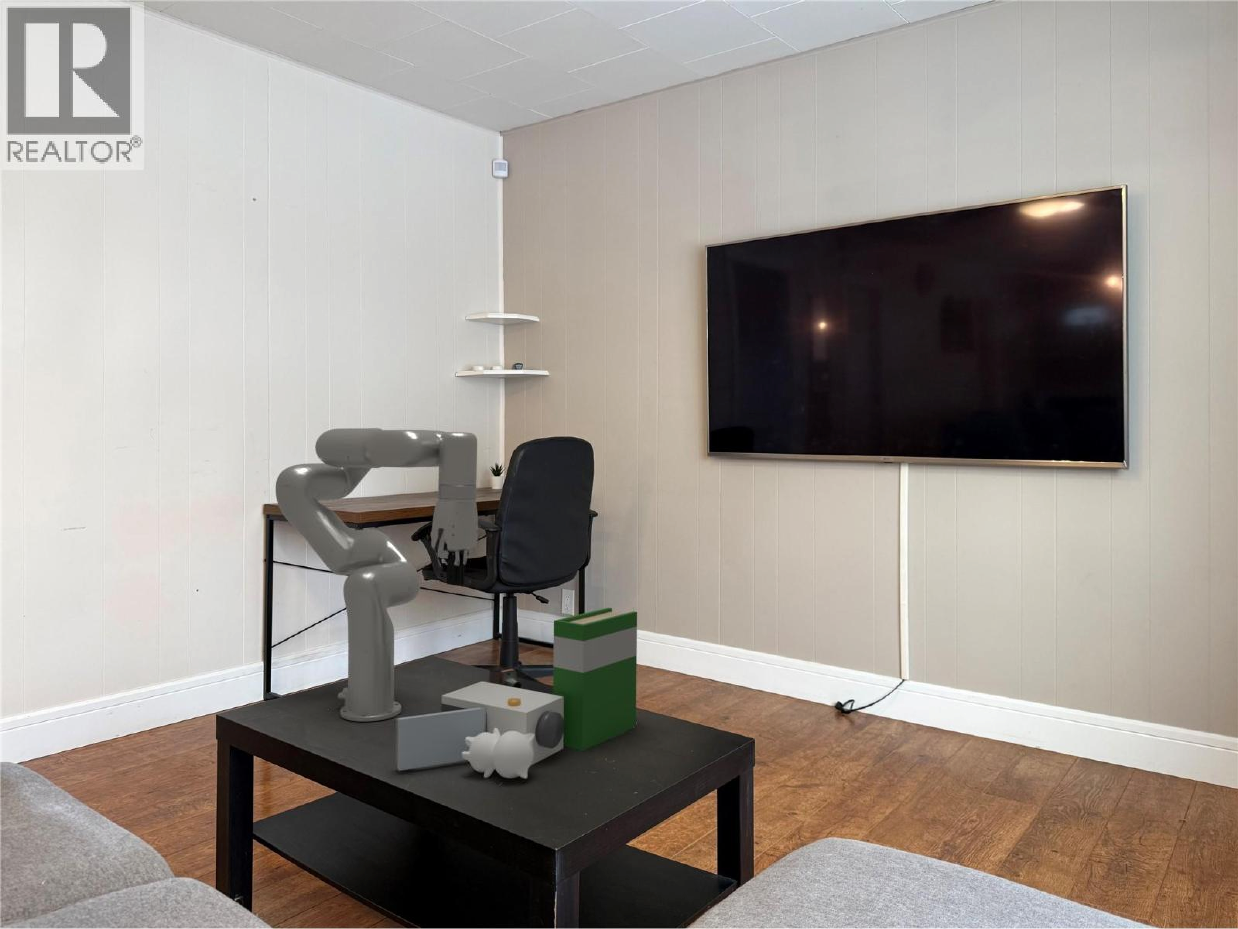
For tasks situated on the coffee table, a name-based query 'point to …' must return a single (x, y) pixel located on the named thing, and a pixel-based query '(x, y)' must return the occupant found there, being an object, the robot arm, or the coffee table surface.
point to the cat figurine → (500, 753)
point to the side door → (436, 737)
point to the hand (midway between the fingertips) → (455, 584)
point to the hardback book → (596, 675)
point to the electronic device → (504, 677)
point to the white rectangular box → (515, 713)
